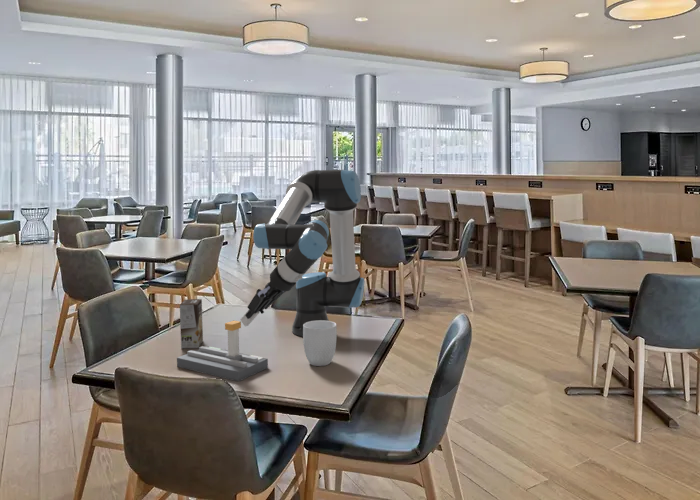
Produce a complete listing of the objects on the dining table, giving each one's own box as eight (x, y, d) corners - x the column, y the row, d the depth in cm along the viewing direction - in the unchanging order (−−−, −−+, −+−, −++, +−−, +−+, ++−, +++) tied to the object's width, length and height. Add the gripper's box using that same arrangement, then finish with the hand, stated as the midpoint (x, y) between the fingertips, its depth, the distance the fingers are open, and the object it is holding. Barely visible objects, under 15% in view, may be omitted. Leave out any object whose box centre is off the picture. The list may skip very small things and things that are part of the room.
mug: (300, 355, 195) (300, 318, 193) (332, 353, 197) (332, 316, 195) (305, 369, 180) (304, 329, 178) (339, 367, 182) (339, 328, 180)
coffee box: (199, 348, 202) (197, 304, 200) (180, 348, 202) (179, 304, 199) (203, 340, 211) (201, 298, 209) (185, 341, 211) (184, 299, 209)
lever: (243, 358, 180) (242, 321, 178) (234, 362, 177) (233, 324, 175) (233, 356, 182) (232, 320, 180) (224, 360, 179) (223, 323, 177)
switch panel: (267, 367, 182) (267, 355, 181) (238, 381, 170) (238, 367, 169) (208, 354, 195) (207, 342, 194) (177, 366, 183) (176, 354, 182)
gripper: (280, 287, 157) (236, 337, 168) (307, 280, 169) (264, 327, 179) (265, 267, 160) (222, 317, 170) (293, 261, 171) (251, 309, 181)
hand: (244, 322), depth 174 cm, fingers closed
